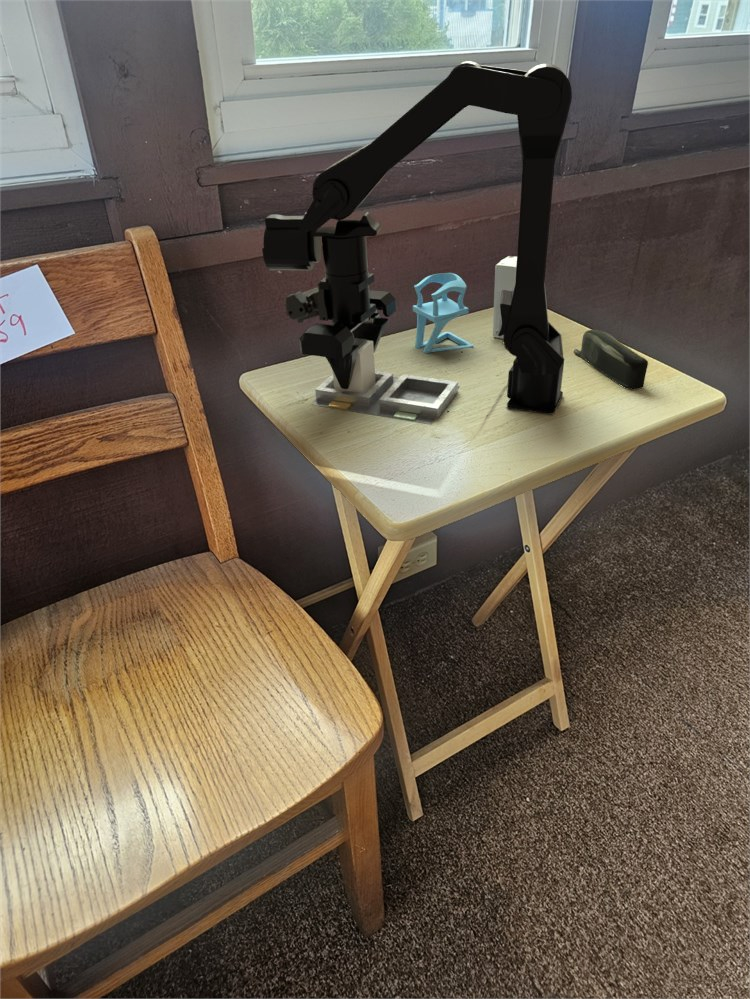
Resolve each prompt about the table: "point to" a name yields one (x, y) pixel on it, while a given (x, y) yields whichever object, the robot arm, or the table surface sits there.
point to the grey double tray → (392, 397)
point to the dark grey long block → (613, 359)
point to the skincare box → (502, 287)
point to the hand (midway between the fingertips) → (354, 379)
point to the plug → (361, 368)
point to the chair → (440, 311)
